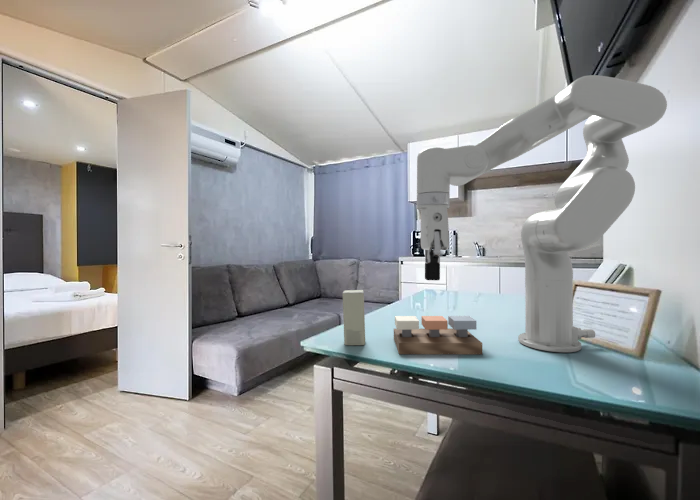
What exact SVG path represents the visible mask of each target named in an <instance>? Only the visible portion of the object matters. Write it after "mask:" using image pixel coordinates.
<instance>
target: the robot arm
mask: <svg viewBox="0 0 700 500" xmlns="http://www.w3.org/2000/svg"><path fill="white" fill-rule="evenodd" d="M667 106H668V101H667V98H666V97H665V95H664V93H663V92H662V91H660V90H659V89H658V88H656V87H655V86H653V85H648V84H644V83H640V82H637V81H631V80H627V79H623V78H622V79H621V78H617V77H612V76H607V75H596V74H591V75H589V74H588V75H583V76H581V77H578V78H576V79H575V80H574V81H572V82H571V83H570V84H568V85H567V86H566V87H564V88H563V89H561V90H560V91H559V92H558V93H556V94H555V95H553V96H551V97H550V98H547V99H546V100H544V101H542V102H540V103H538V104H537V105H535V106H533V107H531V108H529V109H528V110H526V111H524V112H523V113H520V114H518V115H517V116H514V117H513V118H511V119H510V120H508V121H507V122H505V123H503V125H501V126H499V128H497V129H496V130H495V131H494V132H492V133H491V134H490V135H488V136H487V137H485V138H484V139H482V140H481V141H480V142H478V143H477V144H475V145H473V144H468V145H462V146H456V147H455V146H454V147H448V148H444V147H427V148H424V149H422V150H421V151H419V152H418V154H417V157H416V161H417V162H416V210H419V211H420V212H421V213H420V248H421V249H422V250H424V259H425V260H424V261H425V262H424V280H426V281H440V279H441V251H447V250H448V249H449V248H450V238H449V237H450V235H449V227H450V226H449V214H448V209H450V199H451V198H450V195H451V194H450V191H451V188H450V187H451V186H454V187H455V186H456V187H459V186H460V187H461V186H463V185H466V184H467V183H470V182H471V181H473V180H474V179H476V178H478V177H480V176H482V175H483V174H484V175H485V174H486V173H487V172H489V171H491V170H494V169H495V168H496V167H499V166H500V165H502V164H505V163H507V162H509V161H510V162H511V161H512V160H515V159H517V158H519V157H520V156H522V155H524V154H526V153H527V152H530V151H532V150H533V149H535V148H537V147H539V146H541V145H542V144H544V143H546V142H548V141H550V140H551V139H553V138H555V137H557V136H559V135H560V134H561V135H562V133H564V132H566V131H568V130H570V129H571V128H573V127H575V126H576V125H577V126H578V124H580V123H582V122H584V121H585V123H584V126H583V129H582V136H583V140H584V143H585V147H586V155H585V157H584V158H583V160H582V161H581V162H580V164H579V165H578V166H577V167H576V168H575V170H574V171H573V172H572V173H571V174H570V175H569V176H568V177H567V178H566V180H565V181H564V182H563V183H562V184H561V185H560V187H559V188H558V190H557V191H556V192H555V196H554V205H555V206H554V207H556V208H551V209H547V210H541V211H539V212H535V213H533V214H532V215H530V216H528V217H527V218H526V220H525V221H524V222H523V224H522V227H521V230H520V238H521V240H520V241H521V244H522V250H523V255H524V270H525V271H524V276H525V277H524V280H525V281H524V282H525V283H524V284H525V285H524V290H525V291H524V292H525V293H524V294H525V295H524V299H525V300H524V301H525V303H524V304H525V305H524V306H525V308H524V309H525V311H524V312H525V313H524V314H525V316H524V319H525V330H524V331H525V332H523V333H520V334H519V335H517V336H518V339H517V340H518V341H519V343H520V344H522V345H524V346H526V347H529V348H532V349H536V350H540V351H546V352H550V353H551V352H553V353H575V352H576V353H577V352H579V351H580V350H582V343H581V342H580V341H579V340H581V339H582V338H585V339H594V338H596V331H595V330H594V329H585V328H584V329H581V327H576V326H574V303H573V302H574V295H573V293H574V286H573V285H574V271H573V270H574V268H573V265H572V263H573V262H572V259H571V258H570V254H569V252H579V251H585V250H587V249H589V248H590V247H592V246H594V245H595V244H596V243H597V242H598V241H599V240H601V238H602V237H603V236H604V235H605V233H606V232H607V231H608V230H609V229H610V228H611V227H612V225H613V224H614V223H615V222H616V221H617V220H618V219H619V217H621V215H622V214H623V213H624V212H625V211H626V209H627V208H628V207H629V206H630V204H631V203H632V200H633V198H634V195H635V191H636V182H635V179H634V177H633V175H632V174H631V173H630V172H629V171H628V170H627V168H628V165H629V154H628V153H627V150H626V147H625V143H624V142H623V139H624V138H626V137H630V136H631V135H634V134H637V133H638V132H642V131H644V130H646V129H648V128H650V127H652V126H654V125H655V124H657V123H658V122H659V121H660V120H661V119H662V118H663V117H664V115H665V113H666V110H667ZM450 185H451V186H450Z"/></svg>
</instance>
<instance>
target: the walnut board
mask: <svg viewBox="0 0 700 500" xmlns="http://www.w3.org/2000/svg"><path fill="white" fill-rule="evenodd" d="M411 335H412V337H402V330H397V328H393V340H394V343H395V344H394V345H395V347H396V349H397V352H398V354H399V355H483V342H482V341H480V340H479V338H477V337H476V336H475V335H473V334H472V333H471V332H470V331H468V337H457V336H456V330H454V329H453V328H448V330H439V336H440V337H429V330H426V329H425V328H419V330H411Z"/></svg>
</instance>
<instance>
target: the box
mask: <svg viewBox="0 0 700 500" xmlns="http://www.w3.org/2000/svg"><path fill="white" fill-rule="evenodd" d="M364 293H365V292H364V290H363V289H350V290H348V289H347V290H343V292H342V313H343V314H342V317H343V343H344V345H345V346H365V344H366V323H365V320H366V318H365V317H366V316H365V295H364Z"/></svg>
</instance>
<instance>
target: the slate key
mask: <svg viewBox="0 0 700 500" xmlns="http://www.w3.org/2000/svg"><path fill="white" fill-rule="evenodd" d="M447 316H448V317H447V318H448V319H447V321H448V325H449V326H450V328H451V329H454V330H456V336H457V337H468V332H469V331H470V330H475V331H476V330H477V320H476V319H475V318H473V317H472V316H470V315H447Z"/></svg>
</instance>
